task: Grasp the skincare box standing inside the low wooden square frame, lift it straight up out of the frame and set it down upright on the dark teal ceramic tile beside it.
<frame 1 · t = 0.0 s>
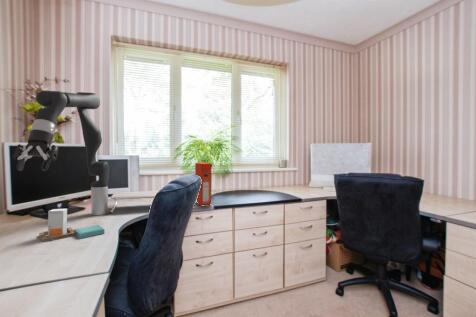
hand: (31, 170, 90), 31 cm above the table, tool tilted 20°, fingers open, 8 cm apart
tile: (89, 233, 111), on the table
wooden square frame: (57, 235, 108), on the table
file binder: (202, 203, 182), on the table
skincare box: (57, 235, 108), resting in wooden square frame
monitor stand: (141, 208, 167), on the table
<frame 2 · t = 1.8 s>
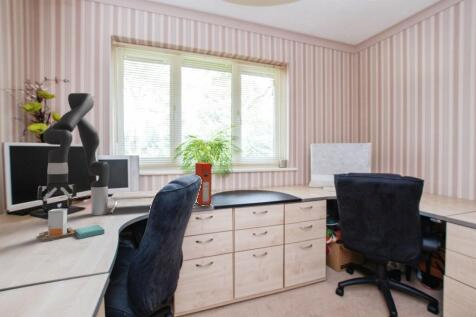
hand: (57, 207, 107), 13 cm above the table, tool pointing down, fingers open, 8 cm apart
nothing on the table moved.
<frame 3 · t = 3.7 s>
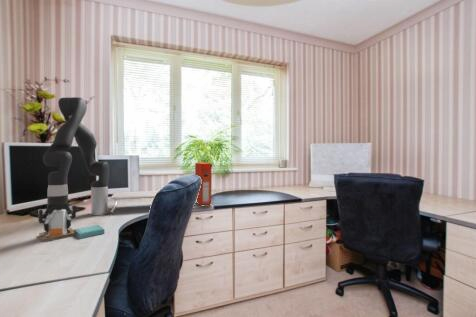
hand: (57, 229, 108), 3 cm above the table, tool pointing down, fingers closed on skincare box, 7 cm apart
skincare box: (57, 235, 108), resting in wooden square frame, touching gripper
everything else where it was.
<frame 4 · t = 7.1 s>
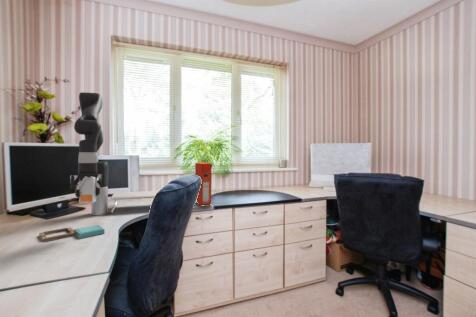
hand: (87, 196, 110), 18 cm above the table, tool pointing down, fingers closed on skincare box, 7 cm apart
skincare box: (87, 202, 110), point 15 cm above the table, touching gripper
everything else where it was.
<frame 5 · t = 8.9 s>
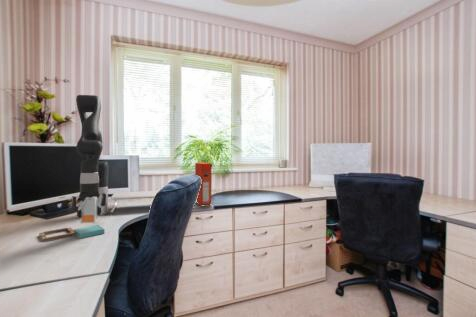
hand: (89, 216, 111), 8 cm above the table, tool pointing down, fingers closed on skincare box, 7 cm apart
skincare box: (89, 222, 111), point 5 cm above the table, touching gripper
everything else where it was.
when the fingers open (6 cm above the table, at t = 10.5 s): skincare box stays where it is, resting on tile.
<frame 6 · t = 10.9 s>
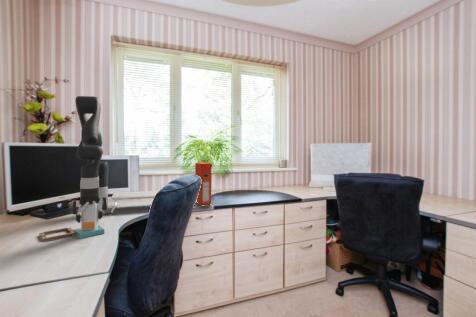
hand: (89, 220, 111), 6 cm above the table, tool pointing down, fingers open, 8 cm apart
skincare box: (89, 229, 111), point 2 cm above the table, touching tile
everything else where it was.
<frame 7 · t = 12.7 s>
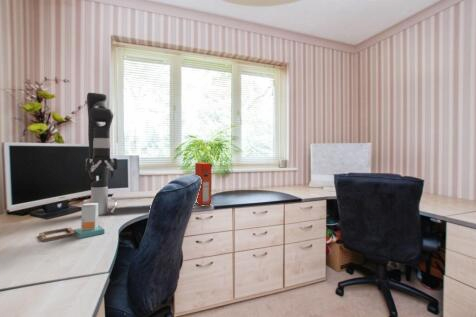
hand: (101, 178, 120), 25 cm above the table, tool pointing down, fingers open, 8 cm apart
nothing on the table moved.
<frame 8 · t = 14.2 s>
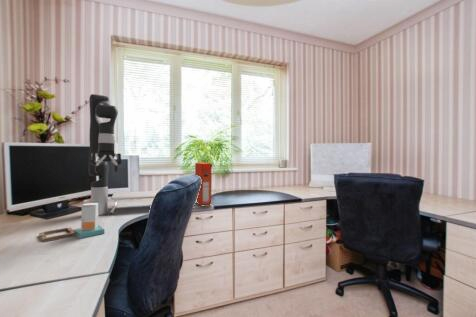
hand: (106, 172, 124), 28 cm above the table, tool pointing down, fingers open, 8 cm apart
at the end: skincare box inside the target area on the tile (0.2 cm from its centre), point 1.9 cm above the tile's base; skincare box tilted 0°; the gripper is holding nothing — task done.
